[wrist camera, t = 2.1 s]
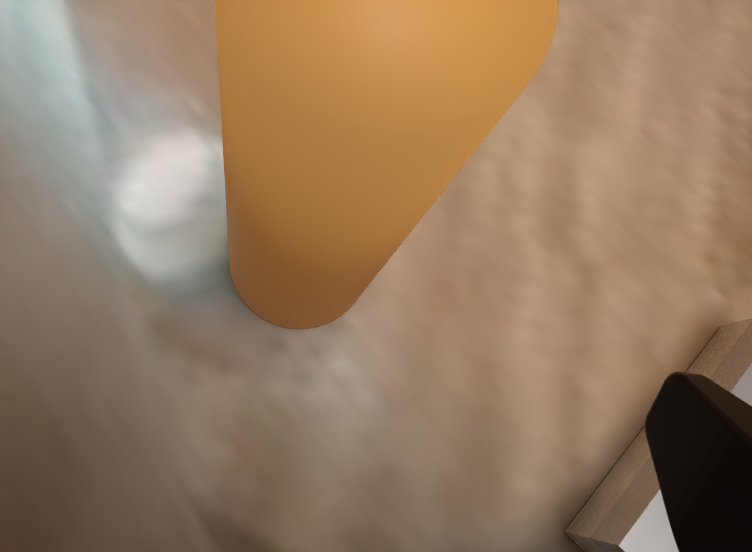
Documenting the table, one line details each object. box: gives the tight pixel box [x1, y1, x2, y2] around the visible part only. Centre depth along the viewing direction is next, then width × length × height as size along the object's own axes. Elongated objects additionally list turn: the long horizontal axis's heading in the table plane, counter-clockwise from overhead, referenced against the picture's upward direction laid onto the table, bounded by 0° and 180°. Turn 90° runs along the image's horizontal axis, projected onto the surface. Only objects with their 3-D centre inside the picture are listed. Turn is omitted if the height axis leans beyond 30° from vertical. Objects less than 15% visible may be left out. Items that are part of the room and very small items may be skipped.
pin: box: [215, 0, 558, 329], centre depth 14 cm, size 4×4×13 cm
